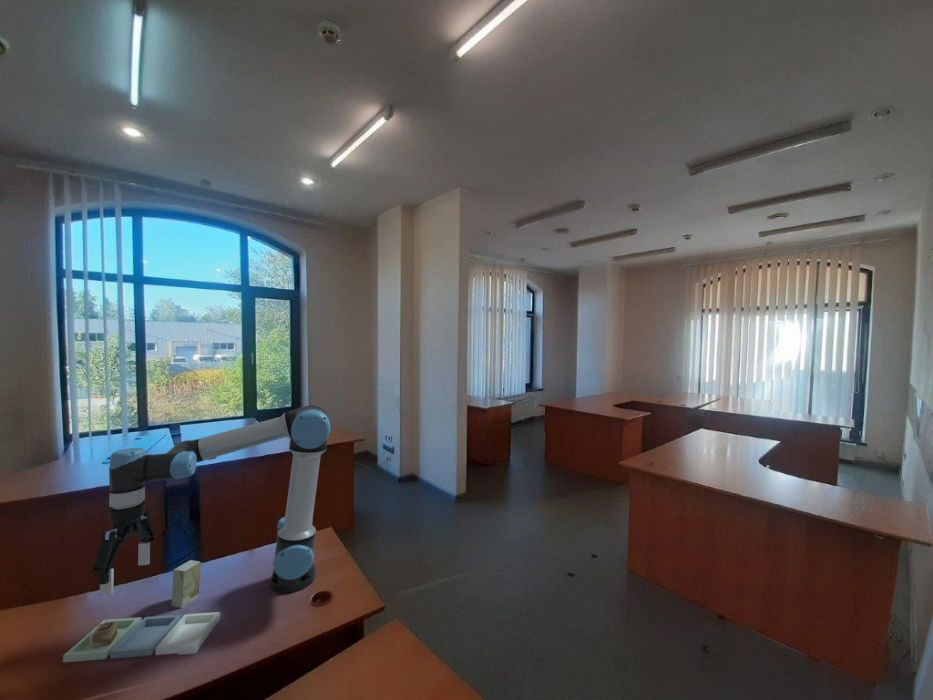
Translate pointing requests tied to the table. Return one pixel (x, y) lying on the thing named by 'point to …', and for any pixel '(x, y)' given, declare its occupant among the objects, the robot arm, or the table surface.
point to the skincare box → (185, 583)
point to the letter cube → (104, 634)
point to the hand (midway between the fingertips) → (126, 578)
